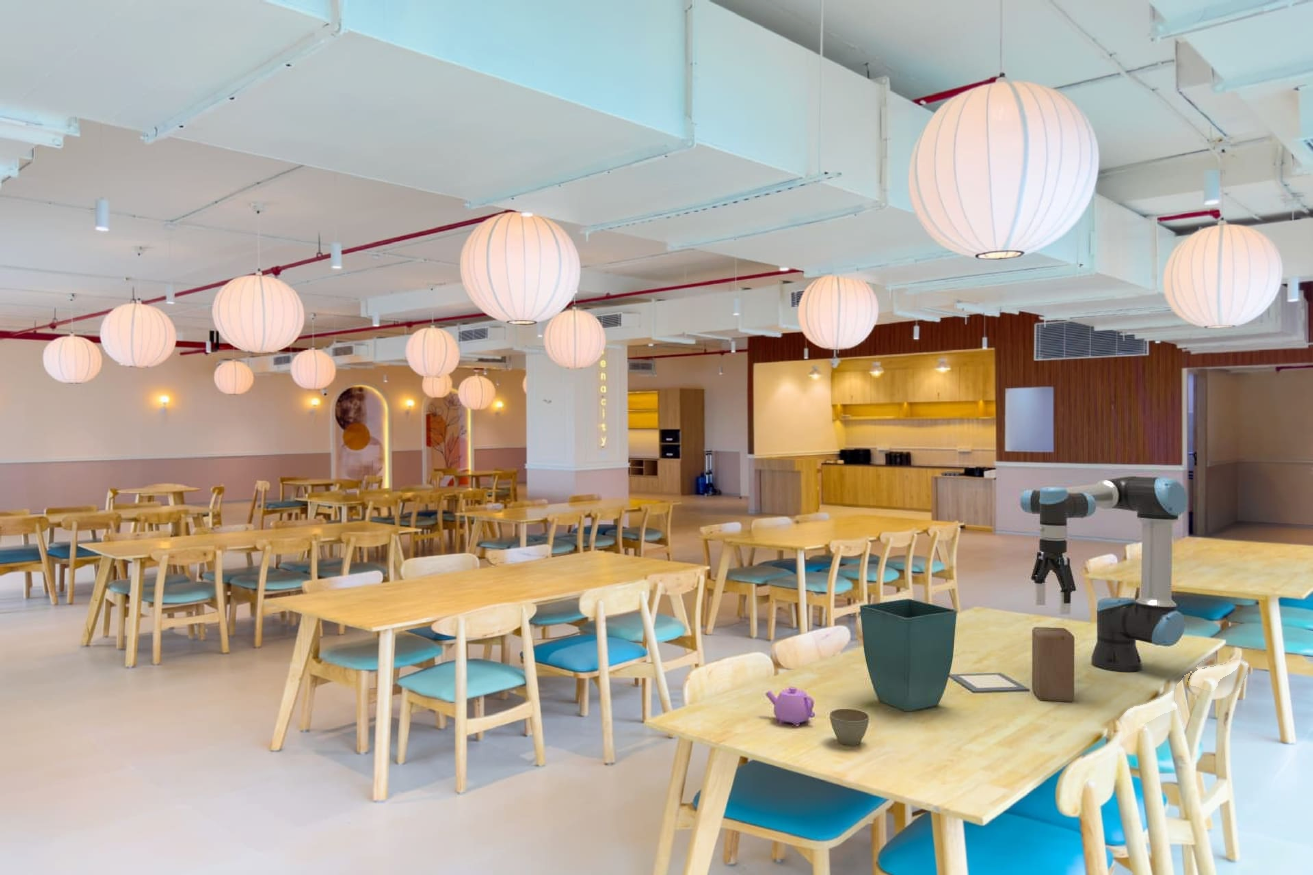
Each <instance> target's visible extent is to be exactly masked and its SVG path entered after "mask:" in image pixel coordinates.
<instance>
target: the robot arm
mask: <svg viewBox="0 0 1313 875" xmlns="http://www.w3.org/2000/svg"><path fill="white" fill-rule="evenodd" d="M1019 500H1020V503H1019V505H1020V507H1021V509H1022V511H1024V512H1025V513H1028V514H1032V515H1035V514H1036V515H1039V527H1038V530H1039V537H1040V539H1039V540H1038V541H1039V551H1036V552H1037V553H1036V560H1035V563H1034V566H1033V570H1032V574H1031V578H1030V579H1031V580H1032V581H1033V582H1034V584H1035V606H1046V583H1047V582H1046V579H1047V577H1048V575H1049V573H1050V571H1052V572H1053V573H1054V574H1055V576H1056V579H1057V582H1058V584H1059V587H1060V589H1061V590H1060V591H1059V593H1060V598H1059V600H1060V601H1059V604H1060V605H1059V607H1060V608H1059V614H1060V615H1071V603H1072V602H1071V598H1072V592H1077V587H1076V584H1075V579H1074V576H1073V572H1072V568H1071V560H1070V558H1069V557H1064V556H1063V554H1065V553H1067V552H1068V551H1067V549H1068V541H1067V540H1066V539H1067V538H1068V525H1067V524H1068V519H1079V518H1080V519H1084V518H1088V517H1091V516H1092V515H1093V514H1095V512H1096V510H1097V508H1098V507H1099V508H1101V509H1105V510H1106V509H1108V510H1109V509H1115V510H1123V511H1129V512H1130V511H1131V512H1136V519H1138V521H1140V522H1141V525H1142V526H1141V527H1142V528H1141V529H1142V530H1141V572H1140V573H1141V575H1140V576H1141V578H1140V579H1141V580H1140V596H1139V597H1138V598H1133V597H1104V598H1101V599H1099V600H1098V601H1097V606H1096V643H1095V645H1094V649H1093V652H1092V654H1091V656H1090V657H1091V658H1090V659H1091V662H1090V664H1091V665H1093V666H1094V667H1095V668H1096V667H1097V668H1100V669H1103V670H1108V671H1113V672H1123V673H1124V672H1126V673H1127V672H1129V673H1130V672H1138V671H1141V670H1142V669H1143V667H1142V664H1143V663H1142V660H1141V656H1140V654H1139V651H1138V648H1137V643H1136V642H1137V641H1140V642H1142V643H1143V642H1144V643H1147V644H1153V645H1155V646H1162V647H1171V646H1174V645H1176V644H1177V643H1179V641H1180V639H1182V636H1183V635H1184V632H1185V627H1186V620H1185V618H1184V615H1183V614H1182V613H1181V612H1179V611H1178V610H1177V605H1178V604H1177V603H1176V602H1175V601H1174V600H1173V599H1172V582H1173V581H1172V572H1173V571H1172V569H1173V527H1174V524H1175V523H1176V522H1178V521H1179V516H1180V515H1182V514H1183V513H1185V511H1186V508H1187V506H1188V496H1187V492H1186V489H1185V487H1184V485H1183V484H1182V483H1181V482H1180V481H1178V480H1177V479H1175V478H1169V477H1163V476H1161V477H1157V476H1156V477H1155V476H1152V477H1151V476H1134V475H1132V476H1130V475H1129V476H1123V477H1116V478H1111V479H1103V480H1099V481H1097V482H1096V483H1095V484H1087V485H1077V486H1068V487H1060V486H1058V487H1055V486H1049V487H1048V486H1046V487H1044V486H1043V487H1042V488H1041V489H1039V490H1037V489H1027V490H1025V491H1023V493H1022V494H1021V496H1020V498H1019Z"/></svg>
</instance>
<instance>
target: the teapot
mask: <svg viewBox="0 0 1313 875" xmlns="http://www.w3.org/2000/svg"><path fill="white" fill-rule="evenodd" d="M764 695H765V697H767V698H768V700H769V701H770V702H771V703H772V704H773V714H774V716H775V717H776V719H777V720H778V721H779V722H781V723H780V724H783V723H784V722H785V723H792V725H793V726H794V725H800V726H801V724H800V723H805V722H804V721H806V722H808V720H809V719H810V718H811V719H813V718H815V716H816V713H815V712H814V711H813V708H814V704H815V702H814V701H815V700H814V699H813V698H812V697H811V696H810V695H808V694H807V692H806V691H804V690H803V689H798V688H797V687H795V686H790V687H788V688H786V689H783V690H781V691H780V693H779V694H778V696H777V697H776V695H774V694H773V692H772V691H771V690H768V691H767V692H766V693H765V694H764ZM779 722H778V723H779ZM785 723H784V724H785Z"/></svg>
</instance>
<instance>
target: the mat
mask: <svg viewBox="0 0 1313 875" xmlns="http://www.w3.org/2000/svg"><path fill="white" fill-rule="evenodd" d="M949 678H950V679H951V680H953V681H955V682H956V683H958V684H960V685H961V686H962V687H964V688H965V689H967V690H968V691H970V692H971V693H973V694H976V693H977V694H979V693H1006V692H1007V693H1009V692H1010V693H1012V692H1030V691H1031V689H1030V688H1028V687H1027V686H1025V685H1023V684H1021V683H1019V682H1018V681H1016V680H1014V679H1013V678H1011V677H1009V676H1008V675H1005V674H1004V673H1002V672H992V673H991V672H985V673H984V672H982V673H953V674H951V673H950V674H949Z"/></svg>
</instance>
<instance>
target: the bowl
mask: <svg viewBox="0 0 1313 875" xmlns="http://www.w3.org/2000/svg"><path fill="white" fill-rule="evenodd" d="M829 720H830V724H831V726H832V727H831V728H832V730H833V732H834V735H835V737H836V738H837V740H838V742H839V743H840V744H841V745H844V746H858V745H859V744H860V743H861V741H862V740H863V738H864V736H865V735H866V732H867V730H868V727H869V720H870V715H869V713H867V712H866V711H863V710H860V709H855V708H836V709H833V710H831V711H830V712H829Z"/></svg>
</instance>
